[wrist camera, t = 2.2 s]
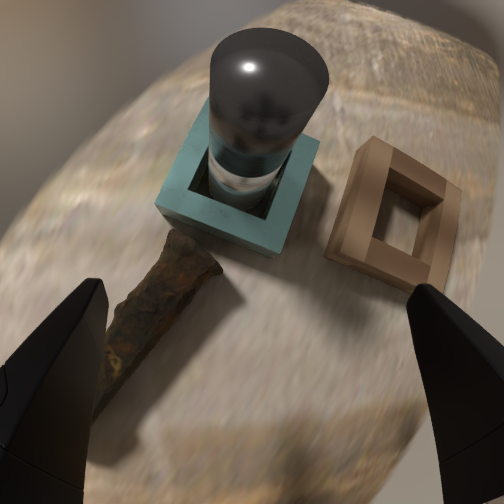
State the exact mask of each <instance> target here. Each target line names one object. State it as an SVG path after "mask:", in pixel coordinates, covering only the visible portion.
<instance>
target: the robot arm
mask: <svg viewBox="0 0 504 504" xmlns="http://www.w3.org/2000/svg"><path fill="white" fill-rule="evenodd" d="M108 308H109V302H108V297H107V294H106V291H105V287H104V284H103V281H102V280H101V279H99V278H87V279H85V280H84V281H83V282H82V283H81V284H80V285H79V286H78V287H77V288H76V289H75V290H74V291H73V292H72V293H71V294H70V295H68V296H67V297H66V298H65V299H64V300H63V301H62V302H61V303H60V304H59V305H58V306H57V307H56V308H55V309H54V310H53V311H52V312H51V313H50V314H49V316H48V317H47V318H46V319H45V320H44V321H43V322H42V323H41V324H40V325H39V326H38V327H37V328H36V329H35V330H34V331H33V332H32V333H31V334H30V335H29V336H28V338H27V339H26V340H25V341H24V342H23V343H22V344H21V345H20V346H19V347H18V348H17V350H16V351H15V352H14V353H13V354H12V355H11V356H10V357H9V358H8V360H7V361H6V362H5V365H2V366H1V367H0V504H83V497H84V491H83V490H84V480H85V469H86V459H87V450H88V442H89V434H90V427H91V420H92V414H93V407H94V401H95V396H96V390H97V385H98V379H99V374H100V369H101V364H102V358H103V351H104V341H105V332H106V324H107V316H108ZM406 309H407V314H408V319H409V324H410V329H411V334H412V340H413V345H414V350H415V354H416V358H417V362H418V366H419V369H420V373H421V377H422V381H423V385H424V389H425V394H426V398H427V402H428V407H429V412H430V416H431V421H432V426H433V431H434V437H435V442H436V448H437V454H438V460H439V468H440V475H441V483H442V492H443V501H444V504H483V503H486V504H504V346H503V345H502V344H500V343H499V342H498V341H497V340H496V339H495V338H494V337H493V336H492V335H491V334H490V333H488V332H487V331H486V330H485V329H484V328H483V327H482V326H480V325H479V324H478V323H477V322H476V321H475V320H473V319H472V318H471V317H470V316H469V315H468V314H466V313H465V312H464V311H463V310H462V309H460V308H459V307H458V306H457V305H456V304H454V303H453V302H452V301H451V300H450V299H448V298H447V297H446V296H445V295H443V294H442V293H441V292H440V291H439V290H437V289H436V288H435V287H434V286H432V285H431V284H428V283H421V284H418V285H417V286H416V287H415V289H414V291H413V292H412V294H411V296H410V298H409V299H408V301H407V305H406Z"/></svg>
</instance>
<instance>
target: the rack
mask: <svg viewBox="0 0 504 504" xmlns="http://www.w3.org/2000/svg"><path fill="white" fill-rule="evenodd" d="M385 187H386V188H388V189H390V190H391V191H393V192H395V193H397V194H399V195H401V196H402V197H404V198H406V199H408V200H409V201H411V202H413V203H415V204H416V205H418V206H420V207H422V213H421V218H420V223H419V227H418V232H417V236H416V241H415V245H414V249H413V253H412V256H410V255H408V254H406V253H404V252H402V251H400V250H398V249H396V248H394V247H392V246H390V245H388V244H386V243H384V242H382V241H380V240H378V239H376V238H373V237H372V234H373V230H374V227H375V223H376V219H377V216H378V212H379V208H380V204H381V200H382V196H383V192H384V188H385ZM461 194H462V190H461V189H459V188H458V187H456V186H455V185H454V184H452V183H451V182H449V181H448V180H446V179H445V178H443V177H442V176H440V175H439V174H437V173H436V172H434V171H433V170H431V169H429V168H428V167H426V166H425V165H423V164H421V163H420V162H418V161H417V160H415V159H413V158H412V157H410V156H408V155H407V154H405V153H403V152H402V151H400V150H398V149H396V148H395V147H393V146H391V145H389V144H388V143H386V142H384V141H382V140H380V139H379V138H377V137H375V136H372V137H371V138H370V139H369V140H368V141H367V142H365V143H364V144H363V145H362V146H361V147H360V148H359V149H358V150H357V151H356V154H355V157H354V161H353V164H352V168H351V171H350V175H349V178H348V181H347V185H346V188H345V191H344V195H343V198H342V201H341V204H340V208H339V211H338V214H337V217H336V220H335V223H334V227H333V230H332V233H331V236H330V239H329V242H328V245H327V248H326V251H325V254H324V257H326V258H329V259H331V260H333V261H336V262H338V263H341V264H343V265H345V266H348V267H350V268H352V269H355V270H357V271H359V272H362V273H364V274H366V275H369V276H371V277H373V278H376V279H378V280H380V281H383V282H385V283H387V284H390V285H392V286H394V287H396V288H399V289H401V290H403V291H406V292H408V293H410V294H412V292H413V291H414V289H415V287H416V286H417V285H418V284H421V283H428V284H431V285H432V286H434V287H435V288H436V289H437V290H439V291H440V292H441V293H442V294H443V290H444V287H445V282H446V278H447V274H448V270H449V265H450V261H451V256H452V251H453V246H454V240H455V235H456V229H457V223H458V217H459V210H460V202H461Z"/></svg>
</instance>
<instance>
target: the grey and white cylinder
mask: <svg viewBox="0 0 504 504" xmlns="http://www.w3.org/2000/svg"><path fill="white" fill-rule="evenodd" d="M328 85H329V73H328V69H327V66H326V64H325V62H324V60H323V58H322V57H321V55H320V54H319V53H318V52H317V51H316V50H315V49H314V48H313V47H312V46H311V45H310V44H309V43H307V42H306V41H304V40H303V39H301V38H299V37H297V36H296V35H293V34H291V33H288V32H285V31H282V30H278V29H272V28H251V29H245V30H241V31H238V32H236V33H233V34H232V35H230V36H228V37H226V38H225V39H224V40H223V41H221V42H220V43H219V44H218V46H217V47H216V48H215V50H214V52H213V54H212V57H211V63H210V94H209V189H210V193H211V195H212V197H213V198H214V200H215V201H218V202H220V203H223V204H225V205H228V206H230V207H233V208H235V209H238V210H240V211H244V210H248V209H250V208H252V207H254V206H255V205H257V204H258V203H259V202H260V200H261V199H262V198H263V196H264V194H265V192H266V191H267V189H268V187H269V186H270V184H271V182H272V181H273V179H274V177H275V176H276V174H277V172H278V171H279V169H280V167H281V166H282V164H283V162H284V161H285V159H286V157H287V156H288V154H289V153H290V151H291V149H292V148H293V146H294V144H295V143H296V141H297V139H298V138H299V136H300V134H301V133H302V131H303V130H304V128H305V126H306V125H307V123H308V121H309V120H310V118H311V116H312V115H313V113H314V112H315V110H316V108H317V107H318V105H319V103H320V102H321V100H322V99H323V97H324V95H325V93H326V91H327V89H328Z"/></svg>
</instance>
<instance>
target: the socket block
mask: <svg viewBox="0 0 504 504" xmlns="http://www.w3.org/2000/svg"><path fill="white" fill-rule="evenodd" d="M319 144H320V141H318V140H316V139H314V138H312V137H309V136H307V135H305V134H303V133H301V134H300V136H299V138H298V139H297V141H296V143H295V144H294V146H293V148H292V149H291V151H290V153H289V154H288V156H287V157H286V159H285V161H284V162H283V164H282V169H281V172H280V174H279V177H278V180H277V182H276V185H275V187H274V190H273V192H272V195H271V198H270V200H269V203H268V205H267V208H266V210H265V213H264V216H263V218H262V219H260V218H258V217H255V216H253V215H250V214H248V213H245V212H243V211H240V210H238V209H235V208H233V207H230V206H228V205H225V204H223V203H220V202H218V201H215V200H213V199H210V198H207V197H205V196H202V195H200V194H197V193H195V190H196V188H197V186H198V184H199V182H200V179H201V177H202V175H203V173H204V171H205V169H206V166H207V164H208V162H209V97H208V98H207V100H206V102H205V104H204V106H203V107H202V109H201V111H200V113H199V115H198V116H197V118H196V120H195V122H194V124H193V126H192V128H191V130H190V131H189V133H188V135H187V137H186V139H185V141H184V143H183V145H182V147H181V149H180V151H179V153H178V155H177V157H176V159H175V161H174V163H173V165H172V167H171V169H170V171H169V173H168V175H167V177H166V179H165V182H164V184H163V186H162V188H161V190H160V192H159V195H158V197H157V199H156V201H155V203H154V204H155V205H156V207H157V208H158V210H159V211H160V213H161V214H162V215H165V216H167V217H170V218H172V219H175V220H177V221H180V222H182V223H185V224H187V225H190V226H192V227H195V228H197V229H200V230H202V231H205V232H207V233H210V234H212V235H215V236H217V237H220V238H222V239H225V240H227V241H230V242H232V243H235V244H237V245H240V246H242V247H245V248H247V249H250V250H252V251H255V252H257V253H260V254H262V255H265V256H267V257H270V258H272V257H274V256H276V255H278V254H280V253H281V250H282V247H283V245H284V242H285V239H286V237H287V234H288V231H289V228H290V226H291V223H292V220H293V217H294V215H295V212H296V209H297V206H298V203H299V201H300V198H301V195H302V192H303V189H304V187H305V184H306V181H307V178H308V175H309V173H310V170H311V167H312V164H313V161H314V158H315V155H316V152H317V150H318V147H319Z"/></svg>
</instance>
